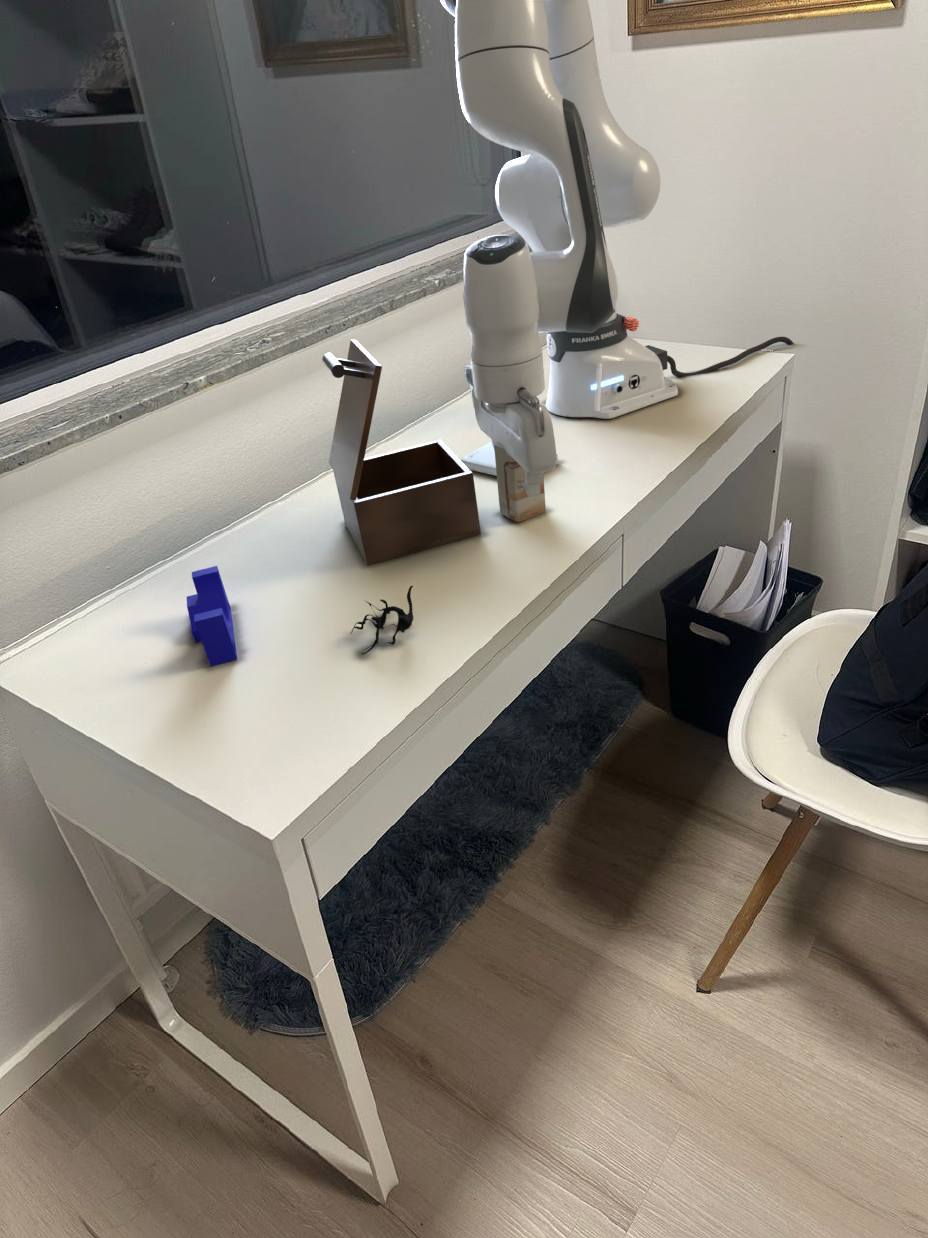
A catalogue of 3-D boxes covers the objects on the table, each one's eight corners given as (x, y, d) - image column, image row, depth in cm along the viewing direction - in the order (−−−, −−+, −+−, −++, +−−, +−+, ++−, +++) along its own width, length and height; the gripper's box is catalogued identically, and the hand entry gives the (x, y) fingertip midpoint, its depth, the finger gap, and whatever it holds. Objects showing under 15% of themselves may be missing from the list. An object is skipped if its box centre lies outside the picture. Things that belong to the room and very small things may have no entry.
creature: (347, 665, 97) (413, 651, 94) (327, 625, 94) (394, 610, 92) (366, 625, 103) (428, 611, 101) (347, 587, 101) (410, 572, 98)
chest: (449, 496, 128) (441, 438, 123) (481, 534, 117) (473, 472, 112) (345, 523, 125) (332, 466, 120) (367, 565, 113) (353, 503, 109)
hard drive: (459, 459, 135) (523, 473, 127) (493, 439, 140) (557, 452, 132) (460, 469, 136) (524, 483, 128) (494, 449, 140) (558, 462, 133)
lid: (356, 340, 113) (319, 333, 111) (382, 366, 102) (341, 359, 100) (334, 463, 120) (299, 458, 118) (356, 500, 109) (317, 496, 107)
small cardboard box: (517, 524, 118) (510, 453, 112) (499, 513, 121) (490, 444, 116) (549, 511, 120) (543, 440, 114) (530, 501, 123) (523, 432, 118)
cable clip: (193, 617, 108) (178, 575, 105) (230, 608, 109) (216, 565, 106) (196, 670, 98) (180, 625, 95) (237, 659, 99) (222, 614, 96)
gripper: (565, 395, 102) (572, 504, 110) (504, 355, 119) (513, 451, 127) (515, 407, 101) (525, 516, 108) (459, 364, 118) (472, 461, 125)
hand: (518, 481), depth 118 cm, fingers open, 8 cm apart
